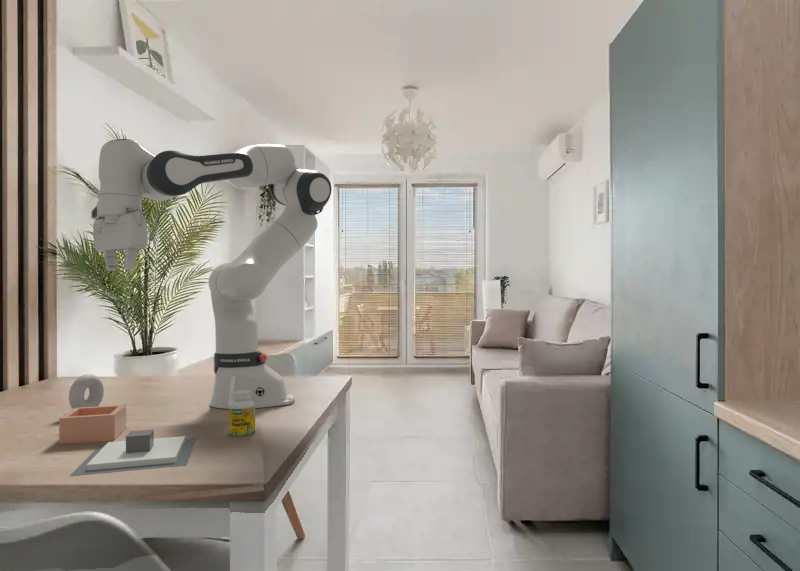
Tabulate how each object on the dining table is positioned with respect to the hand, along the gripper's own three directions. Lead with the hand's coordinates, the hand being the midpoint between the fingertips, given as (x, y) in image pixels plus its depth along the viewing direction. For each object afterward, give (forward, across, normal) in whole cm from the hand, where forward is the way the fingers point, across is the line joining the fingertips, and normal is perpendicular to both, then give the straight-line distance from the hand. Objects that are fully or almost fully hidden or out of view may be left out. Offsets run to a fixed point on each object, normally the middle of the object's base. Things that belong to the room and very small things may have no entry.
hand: (120, 270), depth 122 cm
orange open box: (+36, -6, +8) cm, 38 cm away
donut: (+36, +22, -1) cm, 42 cm away
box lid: (+35, -27, +8) cm, 45 cm away
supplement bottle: (+36, -29, -13) cm, 48 cm away
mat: (+36, -27, +8) cm, 46 cm away
